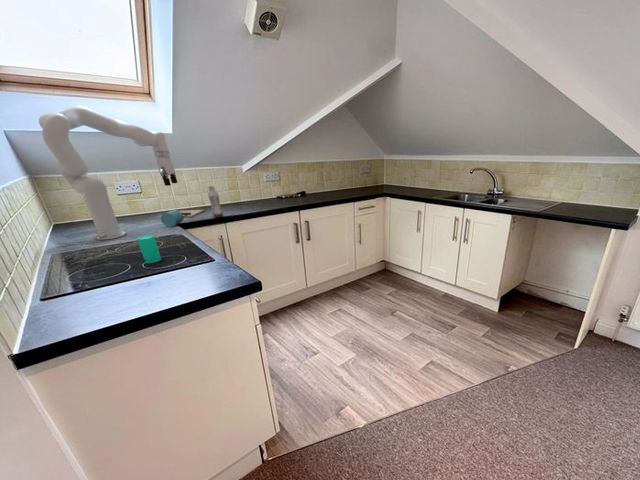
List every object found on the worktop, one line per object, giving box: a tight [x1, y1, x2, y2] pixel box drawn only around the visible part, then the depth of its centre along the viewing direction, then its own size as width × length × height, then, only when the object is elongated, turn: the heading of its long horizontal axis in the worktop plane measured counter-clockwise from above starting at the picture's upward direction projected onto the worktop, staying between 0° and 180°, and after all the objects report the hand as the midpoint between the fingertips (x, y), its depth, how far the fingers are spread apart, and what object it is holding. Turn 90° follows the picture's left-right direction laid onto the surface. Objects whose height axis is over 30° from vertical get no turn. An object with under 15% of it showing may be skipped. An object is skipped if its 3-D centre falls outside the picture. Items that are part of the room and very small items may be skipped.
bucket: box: [160, 209, 191, 228], centre depth 187 cm, size 18×10×8 cm, turn 3°
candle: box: [136, 233, 162, 264], centre depth 125 cm, size 6×6×12 cm
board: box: [179, 209, 205, 219], centre depth 211 cm, size 20×18×1 cm
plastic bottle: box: [207, 186, 224, 219], centre depth 197 cm, size 6×7×20 cm
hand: (171, 184), depth 185 cm, fingers open, 9 cm apart
